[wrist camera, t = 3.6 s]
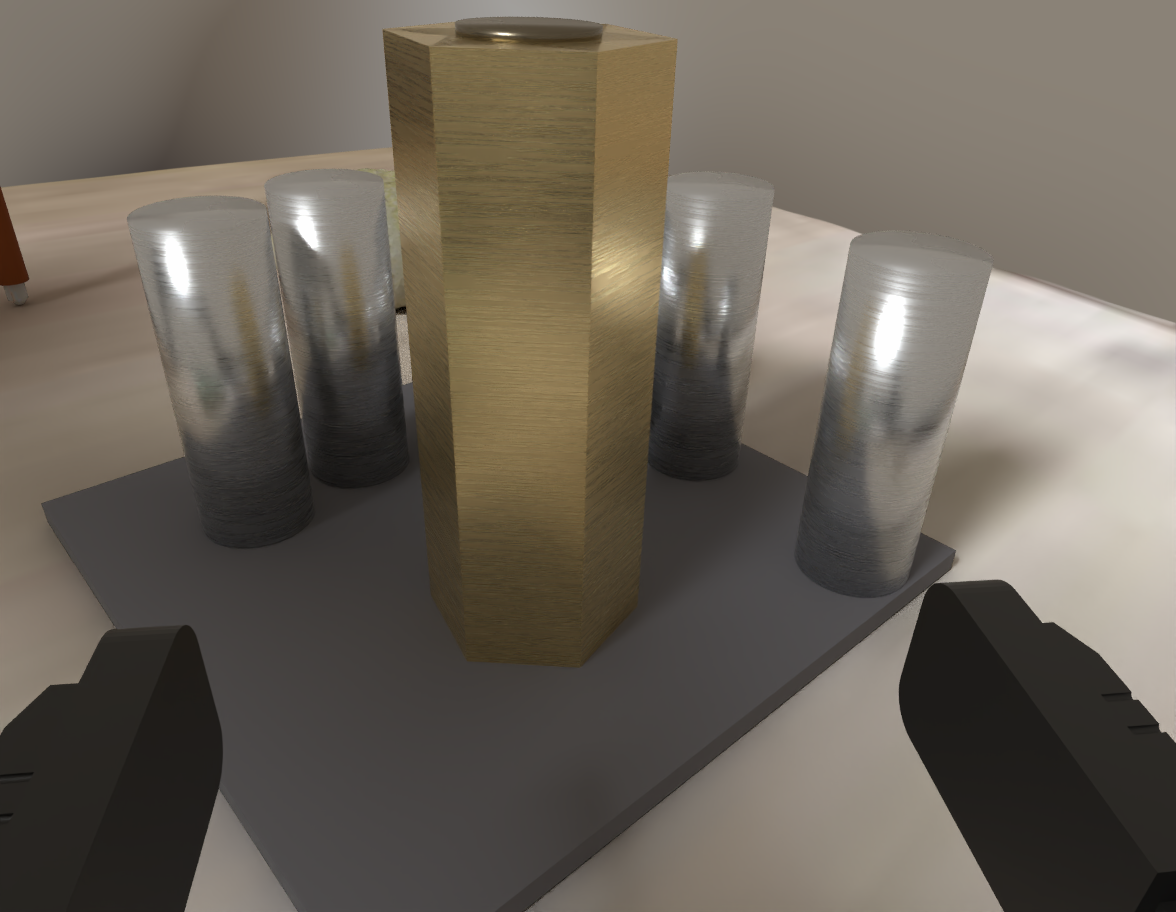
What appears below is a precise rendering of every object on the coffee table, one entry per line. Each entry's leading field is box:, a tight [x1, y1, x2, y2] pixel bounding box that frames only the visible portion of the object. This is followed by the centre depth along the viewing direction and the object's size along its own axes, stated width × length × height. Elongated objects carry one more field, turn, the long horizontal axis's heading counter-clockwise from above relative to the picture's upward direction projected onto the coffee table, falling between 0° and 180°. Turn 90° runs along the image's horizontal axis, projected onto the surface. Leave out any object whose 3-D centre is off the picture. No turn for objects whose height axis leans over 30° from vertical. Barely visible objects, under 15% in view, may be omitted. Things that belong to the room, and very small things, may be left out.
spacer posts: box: [127, 169, 994, 598], centre depth 22 cm, size 16×14×8 cm
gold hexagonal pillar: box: [383, 17, 677, 668], centre depth 18 cm, size 5×4×12 cm
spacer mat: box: [41, 382, 956, 912], centre depth 23 cm, size 17×17×1 cm
